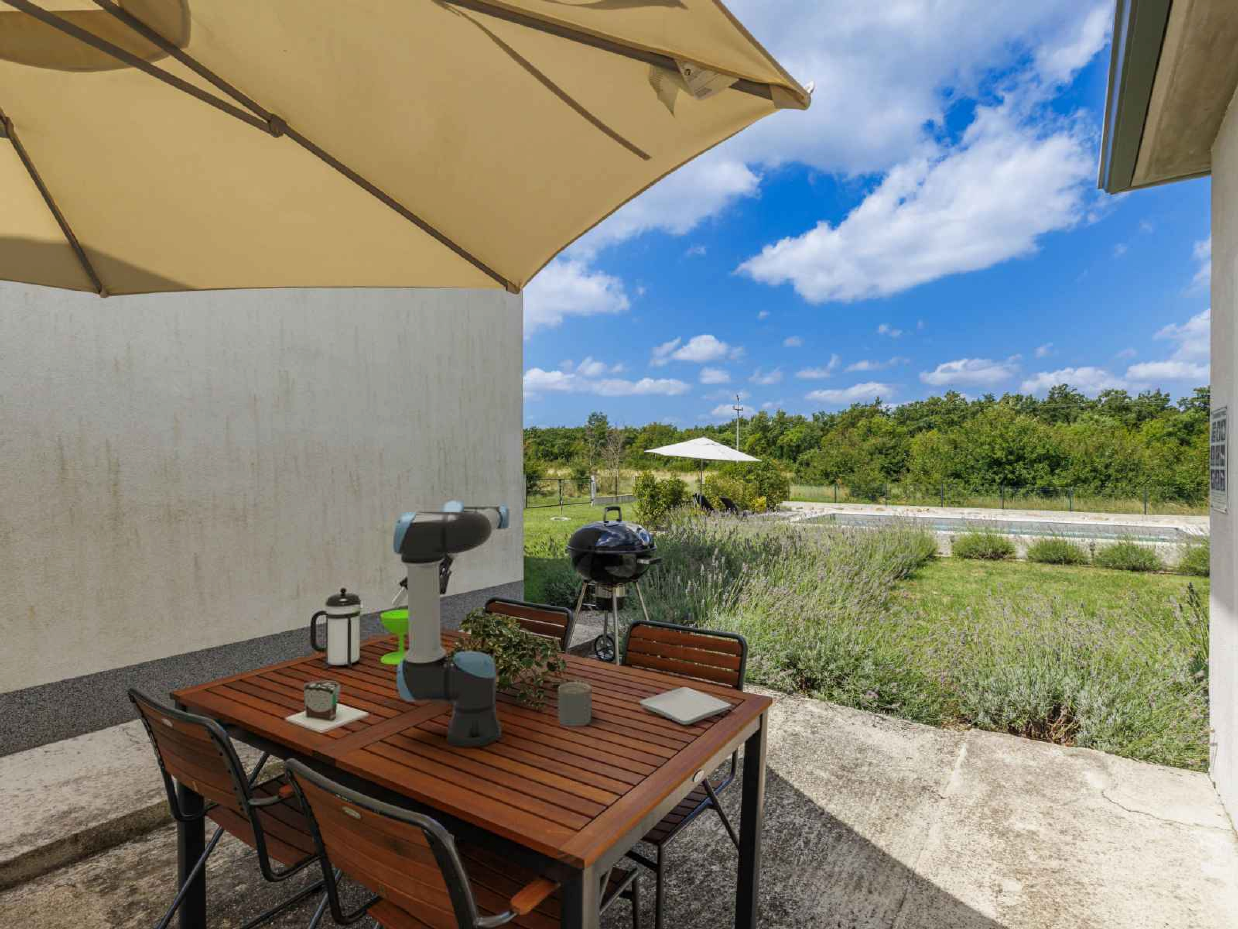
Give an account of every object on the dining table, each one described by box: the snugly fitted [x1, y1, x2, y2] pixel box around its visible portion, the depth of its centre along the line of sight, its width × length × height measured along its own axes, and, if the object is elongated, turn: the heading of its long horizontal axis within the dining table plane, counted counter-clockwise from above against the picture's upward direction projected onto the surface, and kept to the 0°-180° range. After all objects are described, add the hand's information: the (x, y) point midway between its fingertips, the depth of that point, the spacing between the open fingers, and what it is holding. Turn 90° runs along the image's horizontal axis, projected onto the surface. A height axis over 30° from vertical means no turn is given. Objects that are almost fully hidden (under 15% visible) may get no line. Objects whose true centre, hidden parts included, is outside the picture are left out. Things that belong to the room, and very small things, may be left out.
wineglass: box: [380, 609, 409, 665], centre depth 263 cm, size 16×16×18 cm
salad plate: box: [639, 686, 732, 726], centre depth 206 cm, size 21×21×3 cm
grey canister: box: [557, 681, 592, 728], centre depth 200 cm, size 13×10×10 cm
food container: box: [302, 679, 341, 722], centre depth 200 cm, size 12×6×10 cm, turn 71°
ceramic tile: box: [284, 702, 370, 734], centre depth 200 cm, size 18×16×1 cm
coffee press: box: [309, 587, 364, 670], centre depth 254 cm, size 17×16×30 cm
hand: (408, 608), depth 210 cm, fingers open, 13 cm apart
